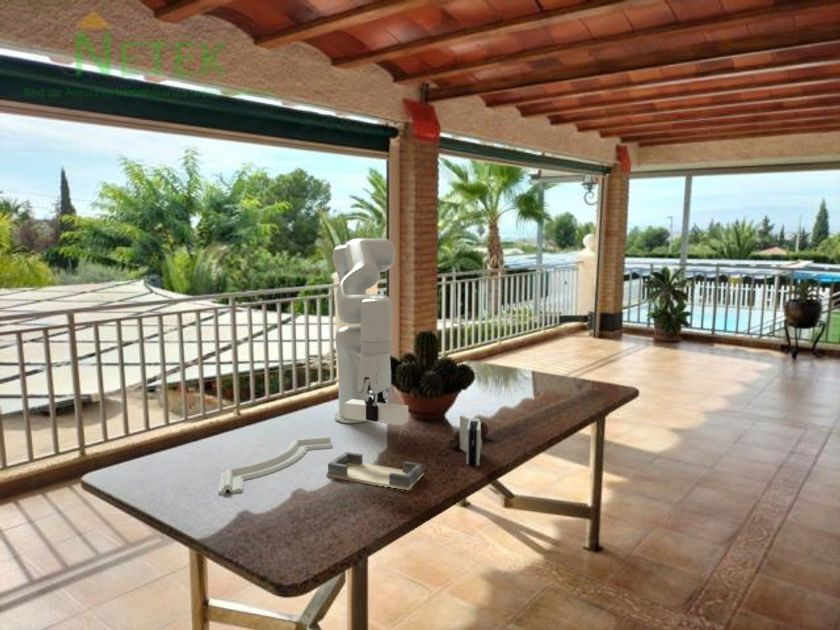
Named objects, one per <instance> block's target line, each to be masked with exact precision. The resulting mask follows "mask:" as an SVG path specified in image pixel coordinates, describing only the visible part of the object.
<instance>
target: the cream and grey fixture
mask: <svg viewBox="0 0 840 630" xmlns="http://www.w3.org/2000/svg"><path fill="white" fill-rule="evenodd" d="M363 461H364V460H363V453H357V452H356V453H355V452H350V451H344V452H343V453H342V454H341V455H339V456H338V457H336V458H334V459H333V460H331V461H330V462H328V463H327V473H326V477H329V478H333V479H340V480H345V481H349V482H350V481H351V482H356V483H362V484H367V485H372V486H376V485H377V487H382V486H384V487H383V488H387V487H391V488H390V489H393V488H398V489H406V490H409V489H410V488H411V487H412V486H413V485H414V484H415V483H416V482H417V481H418V480H419V479H420V478H421V477H422V476H423V475H424V476H425V473H423V465H424V464H422V463H416V462H412V461H406V460H405V461H403V462H402V469H400V468H395V467H390V466H383V465H377V464H371V463H365V462H363ZM398 489H397V490H398ZM411 489H412V488H411ZM411 489H410V490H411ZM410 490H409V491H410Z"/></svg>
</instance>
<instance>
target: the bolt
mask: <svg viewBox="0 0 840 630" xmlns="http://www.w3.org/2000/svg"><path fill="white" fill-rule="evenodd" d="M480 421H481V439H485V438H486V437H487V436H488V434H489V432H490V429H489V427H488V425H487V424H486V422H485V421H482V420H480ZM448 445H449V447H451V448H453V449H454V448H458V447H460V429H459V430H457V431H456V432H455V433H454V435H453V436H451V437H450V438H448Z"/></svg>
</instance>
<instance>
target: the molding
mask: <svg viewBox="0 0 840 630" xmlns="http://www.w3.org/2000/svg"><path fill="white" fill-rule="evenodd" d="M325 449H333V448H332V443H331V436H322V437H321V436H320V437H312V438H311V437H310V438H309V437H308V438H298V439H294V440H292V442H289V446H288V448H286V450H284V451H283V452H281V453H280V454H278V455H275V456H273V457H270V458H268V459H265V460H262V461H259V462H256V463H251V464H247V465H246V464H245V465H242V466H237V467H236V466H235V467H233V468H231V467H230V468H226V469H225V470H224V471H223V472H221V473H220V480H219V485H218V495H225V494H226V492H227V491H229V492H230V493H231V494H235V493H236V494H237V493H243V492H244V481H247V480H251V479H256V478H260V477H264V476H267V475H269V474H272V473H275V472H278V471H281V470H283V469H286V468H287V467H289V466H291V465H293V464H295V463H296V462H298V461H299V460H300V459H302V458H303V457H304V456H305V455H306V454H307V452H308V451H313V450H315V451H316V450H325Z"/></svg>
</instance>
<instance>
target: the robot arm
mask: <svg viewBox="0 0 840 630" xmlns="http://www.w3.org/2000/svg"><path fill="white" fill-rule="evenodd" d="M395 261H396V248H395V246H394V244H393V242H392V241H391V240H390V239H387V238H383V237H381V238H377V237H375V238H374V237H373V238H372V237H371V238H370V237H368V238H365V237H361V238H360V237H359V238H355V239H352V240H350V241H348V243H347V244H341V245H338V246H335V247H334V249H333V250H332V262H333V263H332V264H333V266H334V269H335V272H336V273H337V276H338V281H339V284H338V285H337V290H336V304H337V312H338V317H339V319H340V321H342V323H344V324H348V325H346V326H342V327H340V328H339V329H337V330H336V333H335V340H334V341H335V346H336V347H335V348H336V352H337V353H336V354H337V364H338V365H337V367H338V371H337V372H338V412H336V413H335V414H334V416H333V417H334V420H335V421H337V422H338V421H339V423H343V424H361V423H365V422H367V421H363V420H356V419H349V418H345V402H347V401H349V400H351V399H356V400H364V401H365V405H366V420H369V421H368V422H371V421H378V405H377V402H380V403H387V400H388V392H389V389H390V386H391V384H392V366H391V354H392V324H391V323H392V316H393V314H394V306H393V302H392V300H391V299H390V297H389V296H388V295H386V294H380V293H367V290H369V289H371V288H372V287H374V286H376V284H377V283H378V282H379V280H380V276H381V275H380V274H381V272H383V273H384V272H386V271H388V270H390V269H391V268H392V267H393V265H394V263H395ZM349 324H351V325H349ZM353 324H359V325H353ZM359 355H360V356H359ZM370 391H371V392H370Z"/></svg>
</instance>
